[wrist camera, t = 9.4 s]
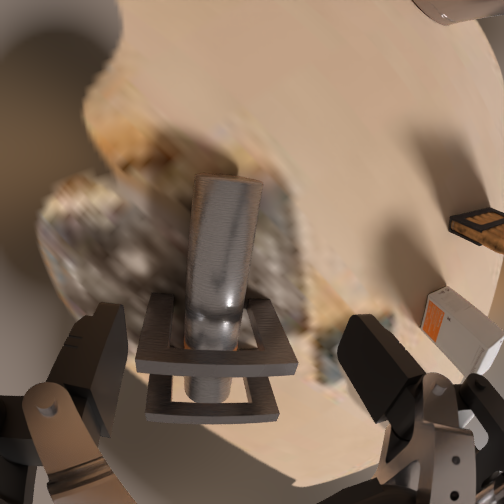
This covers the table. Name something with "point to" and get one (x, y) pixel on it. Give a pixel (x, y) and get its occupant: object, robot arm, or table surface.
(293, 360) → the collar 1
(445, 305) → the skincare box
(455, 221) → the ammunition clip
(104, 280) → the table surface
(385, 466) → the robot arm
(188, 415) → the dark grey rectangular frame
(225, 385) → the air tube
